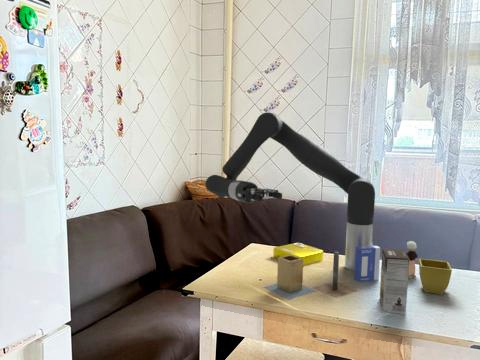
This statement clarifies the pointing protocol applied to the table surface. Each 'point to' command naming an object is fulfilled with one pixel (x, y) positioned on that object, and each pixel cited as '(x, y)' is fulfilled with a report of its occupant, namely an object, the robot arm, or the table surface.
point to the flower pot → (434, 275)
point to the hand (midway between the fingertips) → (271, 197)
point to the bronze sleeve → (290, 273)
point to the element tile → (299, 252)
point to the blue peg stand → (288, 296)
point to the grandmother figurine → (412, 258)
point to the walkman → (367, 263)
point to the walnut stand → (335, 282)
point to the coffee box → (394, 280)
